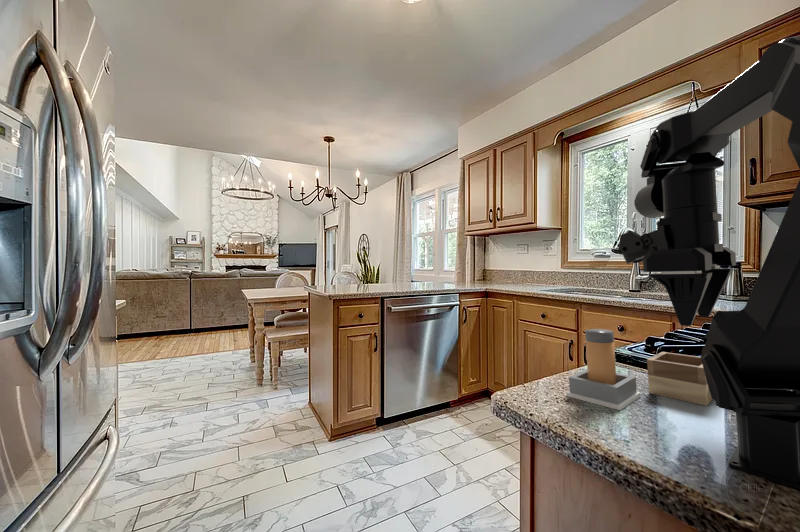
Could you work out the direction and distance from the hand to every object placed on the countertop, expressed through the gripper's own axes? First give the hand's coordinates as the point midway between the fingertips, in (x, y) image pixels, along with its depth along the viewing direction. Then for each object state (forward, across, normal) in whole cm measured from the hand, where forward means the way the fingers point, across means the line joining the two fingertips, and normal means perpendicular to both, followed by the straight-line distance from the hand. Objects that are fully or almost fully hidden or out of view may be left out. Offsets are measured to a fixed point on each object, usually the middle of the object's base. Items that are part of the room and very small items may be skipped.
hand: (695, 320), depth 47 cm
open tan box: (+13, -8, -4) cm, 16 cm away
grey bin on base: (+13, +2, -12) cm, 18 cm away
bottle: (+13, +2, -12) cm, 17 cm away
